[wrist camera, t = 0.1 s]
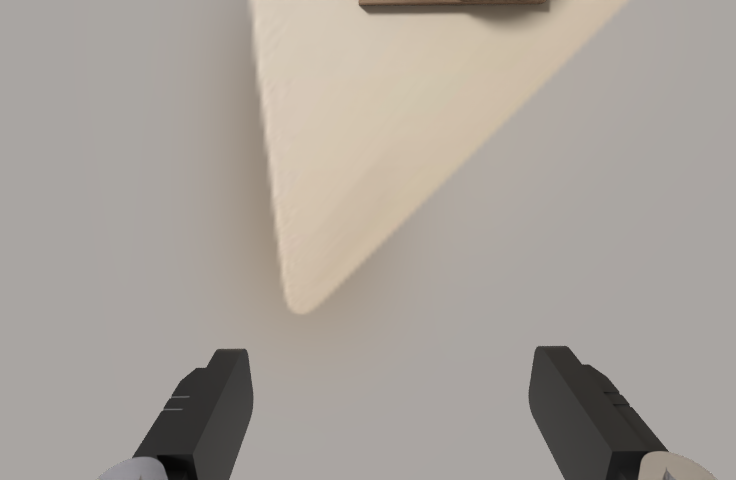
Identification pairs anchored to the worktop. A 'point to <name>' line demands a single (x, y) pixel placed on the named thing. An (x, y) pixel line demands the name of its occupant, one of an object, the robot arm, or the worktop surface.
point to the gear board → (446, 2)
